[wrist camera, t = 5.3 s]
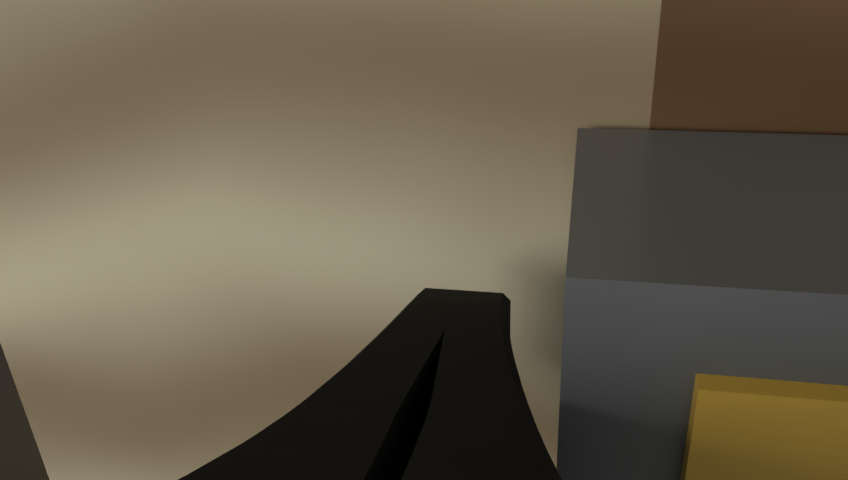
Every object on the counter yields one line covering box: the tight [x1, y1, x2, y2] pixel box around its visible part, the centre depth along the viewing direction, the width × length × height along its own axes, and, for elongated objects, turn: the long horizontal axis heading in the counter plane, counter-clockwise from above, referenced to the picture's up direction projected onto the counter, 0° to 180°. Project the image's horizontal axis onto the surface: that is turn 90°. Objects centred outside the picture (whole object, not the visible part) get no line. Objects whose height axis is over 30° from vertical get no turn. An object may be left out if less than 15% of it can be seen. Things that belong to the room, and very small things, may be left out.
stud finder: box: [556, 128, 848, 480], centre depth 10 cm, size 6×5×4 cm
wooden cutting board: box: [0, 0, 848, 480], centre depth 12 cm, size 18×20×2 cm
